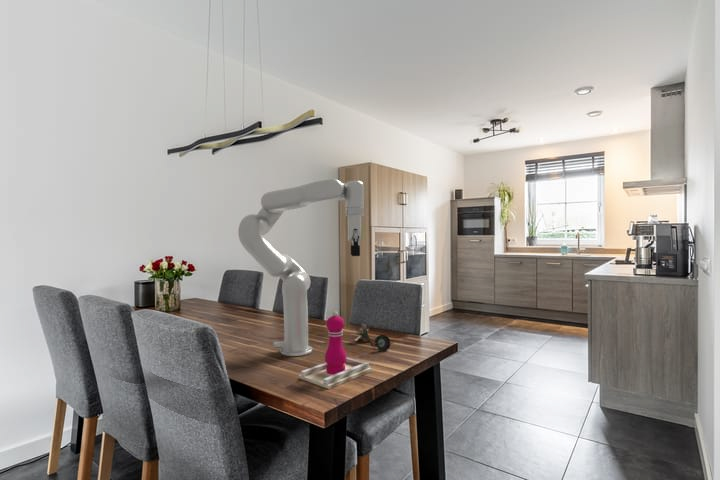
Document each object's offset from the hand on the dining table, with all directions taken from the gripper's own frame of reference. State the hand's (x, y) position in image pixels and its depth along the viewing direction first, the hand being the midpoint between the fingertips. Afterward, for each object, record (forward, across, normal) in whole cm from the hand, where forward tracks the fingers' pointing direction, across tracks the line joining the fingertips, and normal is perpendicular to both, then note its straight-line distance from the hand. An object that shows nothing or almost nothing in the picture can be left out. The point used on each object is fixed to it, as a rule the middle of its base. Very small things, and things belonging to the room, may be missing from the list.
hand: (355, 255), depth 152 cm
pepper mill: (+38, +25, -8) cm, 46 cm away
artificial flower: (+39, -10, +6) cm, 40 cm away
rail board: (+38, +25, -8) cm, 46 cm away
